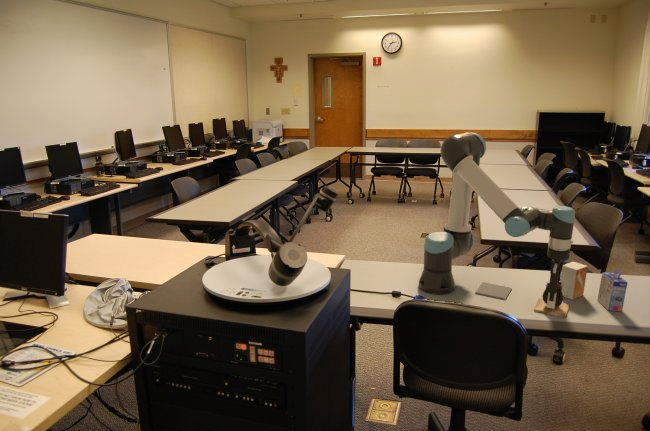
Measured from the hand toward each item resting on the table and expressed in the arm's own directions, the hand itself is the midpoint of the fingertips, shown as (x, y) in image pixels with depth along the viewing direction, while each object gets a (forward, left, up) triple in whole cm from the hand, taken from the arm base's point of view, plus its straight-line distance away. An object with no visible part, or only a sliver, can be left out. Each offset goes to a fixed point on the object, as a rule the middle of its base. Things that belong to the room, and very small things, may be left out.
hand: (552, 303), depth 185 cm
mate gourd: (0, 0, 0) cm, 1 cm away
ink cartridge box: (+19, +14, -2) cm, 24 cm away
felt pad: (-23, +5, -2) cm, 24 cm away
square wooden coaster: (0, 0, -2) cm, 2 cm away
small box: (+5, +17, -2) cm, 18 cm away
